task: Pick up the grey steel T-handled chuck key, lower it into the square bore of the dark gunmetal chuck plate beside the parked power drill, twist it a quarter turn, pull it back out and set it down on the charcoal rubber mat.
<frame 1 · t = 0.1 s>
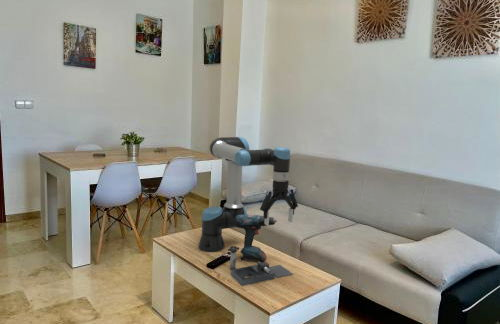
hand: (278, 223, 186), 28 cm above the table, fingers open, 13 cm apart
rubber mat: (279, 271, 197), on the table
power drill: (254, 259, 212), on the table
chuck key: (232, 269, 197), on the table
chuck plate: (252, 277, 189), on the table
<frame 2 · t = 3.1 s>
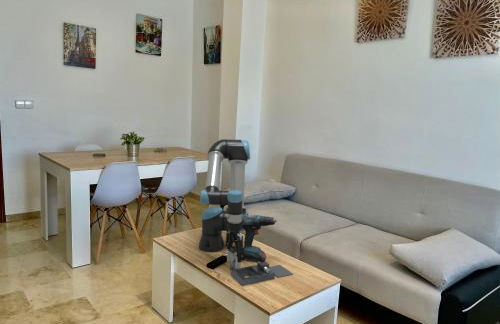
hand: (233, 264, 196), 3 cm above the table, fingers open, 9 cm apart
nothing on the table moved.
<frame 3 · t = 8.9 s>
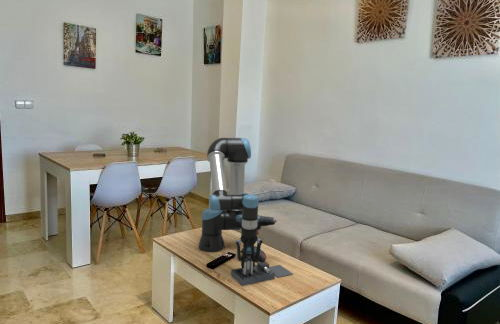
hand: (247, 273, 187), 3 cm above the table, fingers closed on chuck key, 3 cm apart
chuck key: (247, 278, 188), resting in chuck plate, touching gripper
everything else where it was.
when the fingers open (3 cm above the table, at t = 14.4 s): chuck key stays where it is, resting on rubber mat.
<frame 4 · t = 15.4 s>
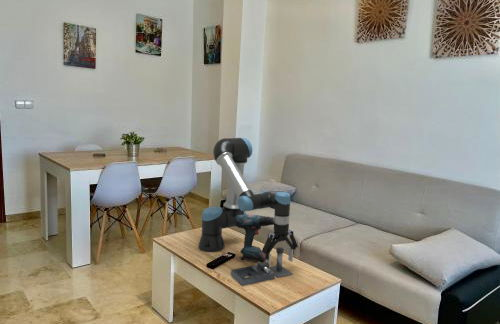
hand: (279, 263, 196), 5 cm above the table, fingers open, 13 cm apart
chuck key: (278, 270, 197), resting on rubber mat
everything else where it was.
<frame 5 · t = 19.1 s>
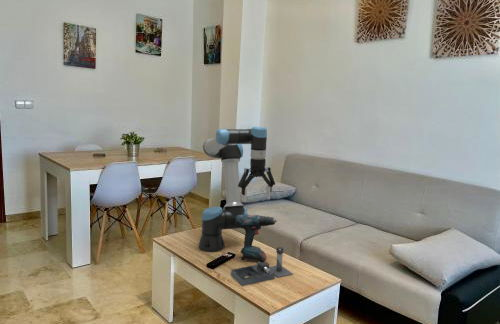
hand: (256, 200, 193), 37 cm above the table, fingers open, 13 cm apart
nothing on the table moved.
at the end: chuck key inside the target area on the rubber mat (0.1 cm from its centre), point 0.4 cm above the rubber mat's base; the gripper is holding nothing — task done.
